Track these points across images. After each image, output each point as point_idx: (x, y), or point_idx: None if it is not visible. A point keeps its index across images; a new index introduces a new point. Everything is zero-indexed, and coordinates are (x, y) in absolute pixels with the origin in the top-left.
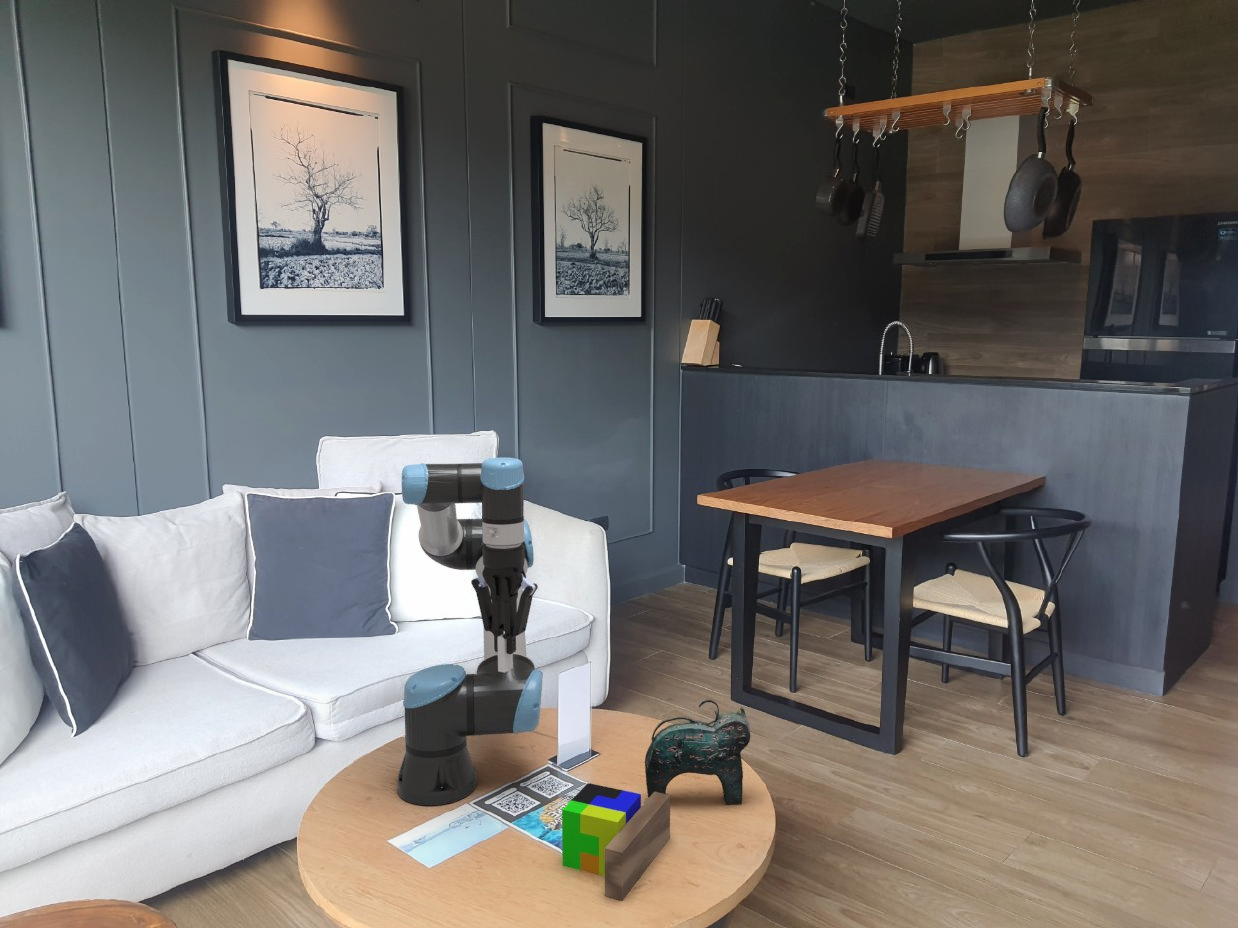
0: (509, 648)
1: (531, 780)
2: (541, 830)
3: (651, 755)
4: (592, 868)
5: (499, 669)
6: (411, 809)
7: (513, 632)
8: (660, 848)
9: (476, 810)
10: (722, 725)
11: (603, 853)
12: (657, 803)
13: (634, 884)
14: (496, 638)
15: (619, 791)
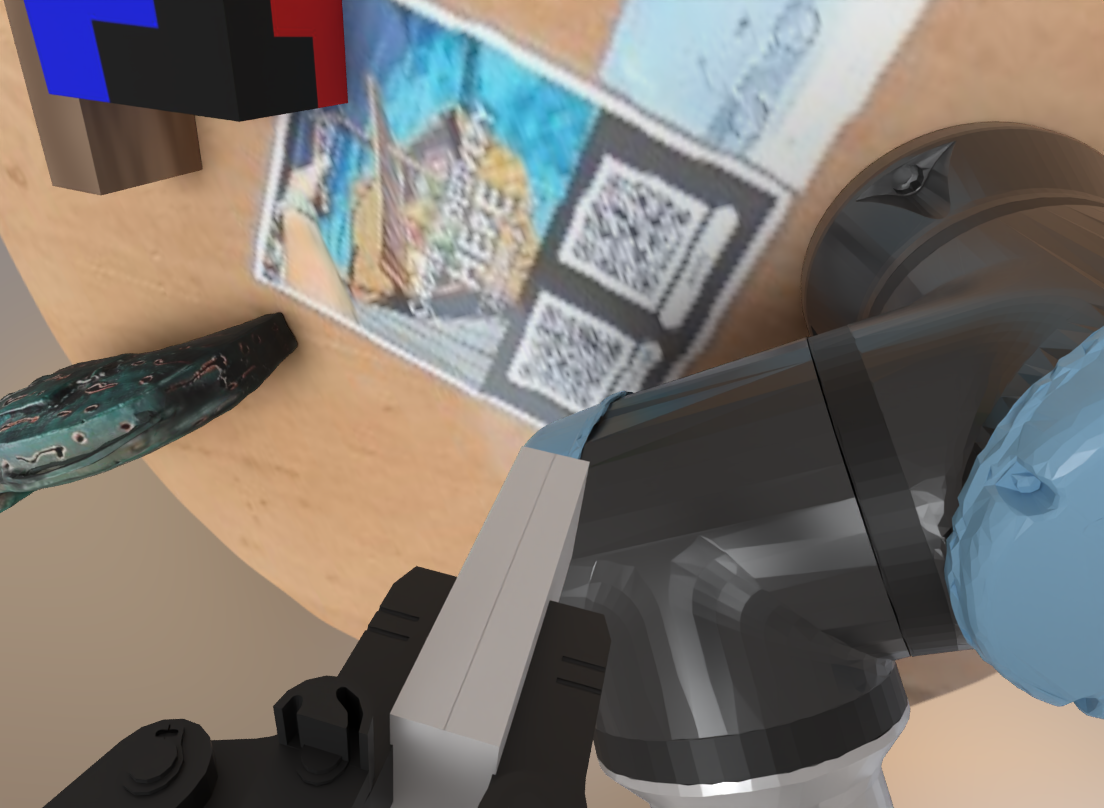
0: (411, 615)
1: (634, 377)
2: (487, 88)
3: (174, 372)
4: None
5: (572, 469)
6: (1017, 82)
7: (201, 773)
8: None
9: (747, 151)
10: None
11: None
12: (49, 116)
13: None
14: (552, 748)
15: (115, 89)
